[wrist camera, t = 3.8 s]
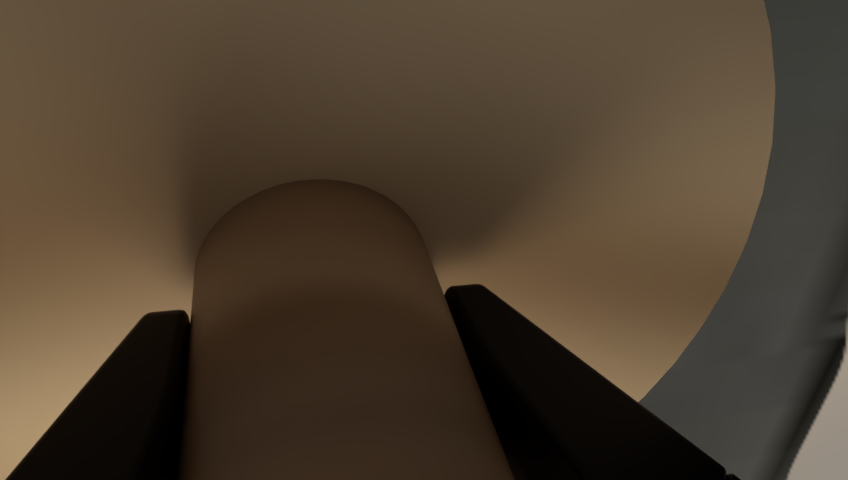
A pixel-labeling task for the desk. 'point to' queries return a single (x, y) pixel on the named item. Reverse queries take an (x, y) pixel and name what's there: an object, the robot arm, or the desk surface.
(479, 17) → the lid
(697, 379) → the desk surface
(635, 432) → the robot arm
